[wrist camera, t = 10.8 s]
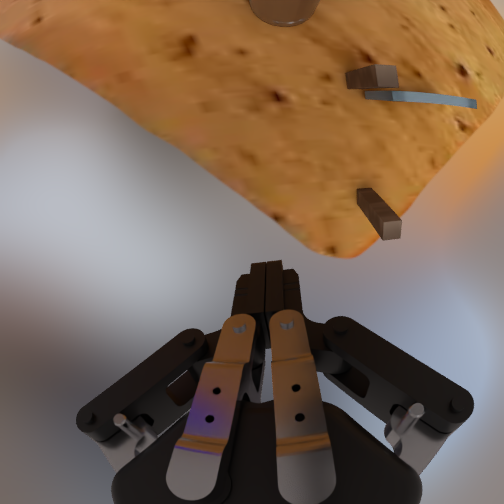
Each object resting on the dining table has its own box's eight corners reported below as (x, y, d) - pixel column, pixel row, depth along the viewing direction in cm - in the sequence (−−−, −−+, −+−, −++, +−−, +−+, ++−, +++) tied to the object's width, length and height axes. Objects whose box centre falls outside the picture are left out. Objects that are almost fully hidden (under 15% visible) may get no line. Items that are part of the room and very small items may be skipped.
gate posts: (345, 72, 31) (374, 64, 20) (361, 72, 30) (395, 65, 20) (357, 203, 41) (382, 240, 31) (371, 202, 41) (400, 238, 31)
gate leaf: (365, 99, 31) (393, 101, 23) (364, 91, 31) (392, 90, 22) (439, 102, 29) (476, 108, 21) (439, 94, 29) (476, 99, 20)
